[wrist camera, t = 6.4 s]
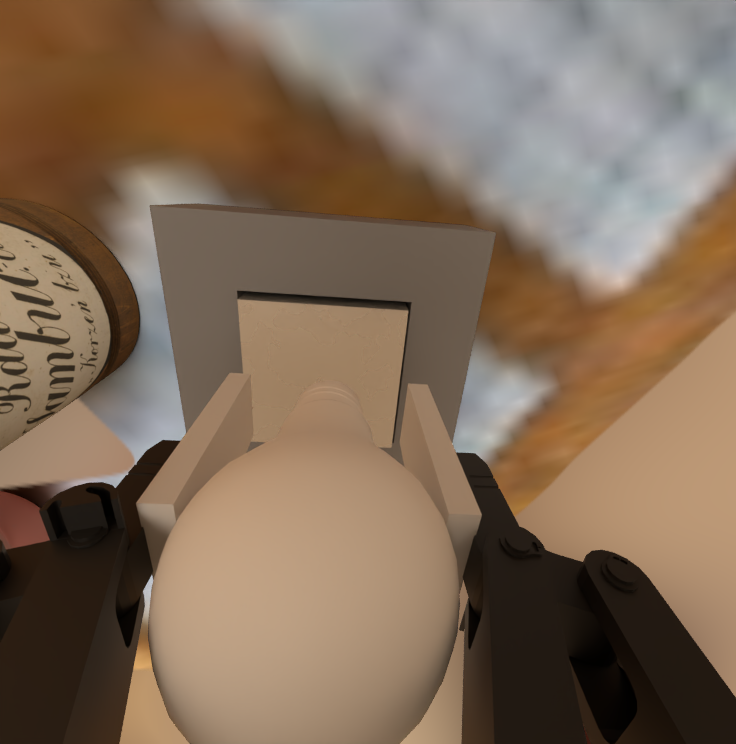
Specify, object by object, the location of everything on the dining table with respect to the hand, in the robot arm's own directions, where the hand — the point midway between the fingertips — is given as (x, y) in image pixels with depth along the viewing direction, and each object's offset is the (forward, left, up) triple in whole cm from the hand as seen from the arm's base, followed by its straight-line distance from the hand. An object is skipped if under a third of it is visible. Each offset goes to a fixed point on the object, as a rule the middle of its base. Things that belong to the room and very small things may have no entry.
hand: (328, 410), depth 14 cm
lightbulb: (0, 0, -1) cm, 1 cm away
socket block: (+1, +4, -18) cm, 18 cm away
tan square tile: (+1, +4, -13) cm, 13 cm away
